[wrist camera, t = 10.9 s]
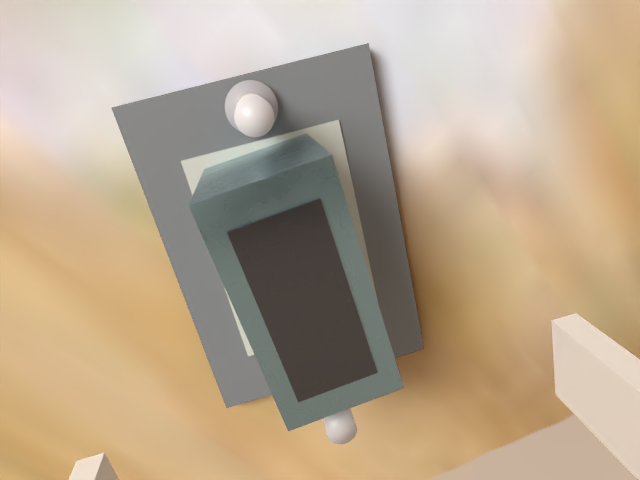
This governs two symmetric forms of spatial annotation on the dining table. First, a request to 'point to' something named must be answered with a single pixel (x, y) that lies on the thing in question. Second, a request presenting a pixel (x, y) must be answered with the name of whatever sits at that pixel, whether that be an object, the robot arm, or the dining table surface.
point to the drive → (297, 278)
